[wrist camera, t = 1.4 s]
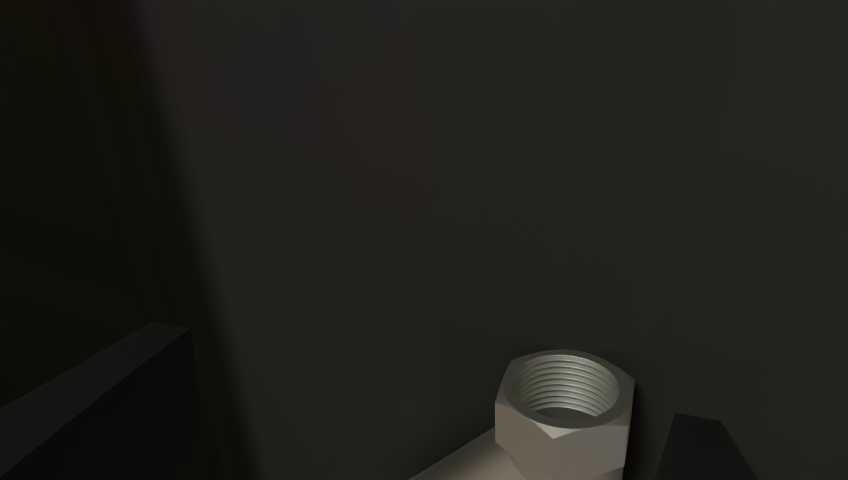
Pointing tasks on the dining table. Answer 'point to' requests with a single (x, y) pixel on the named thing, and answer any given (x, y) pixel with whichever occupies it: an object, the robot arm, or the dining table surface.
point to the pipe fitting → (550, 423)
